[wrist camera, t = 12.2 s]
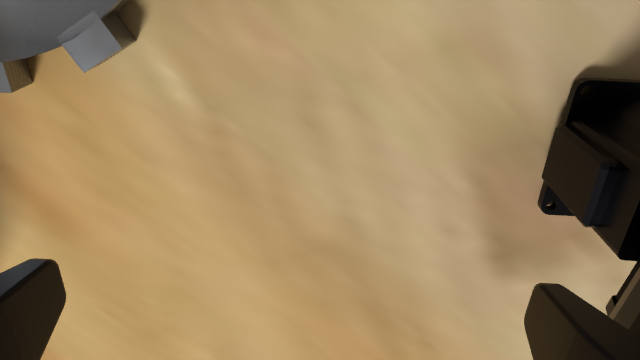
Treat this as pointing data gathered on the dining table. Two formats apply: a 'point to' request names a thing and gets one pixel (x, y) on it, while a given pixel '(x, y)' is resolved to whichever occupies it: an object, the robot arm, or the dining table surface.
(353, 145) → the dining table surface
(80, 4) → the sprocket plate
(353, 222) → the dining table surface
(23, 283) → the robot arm
